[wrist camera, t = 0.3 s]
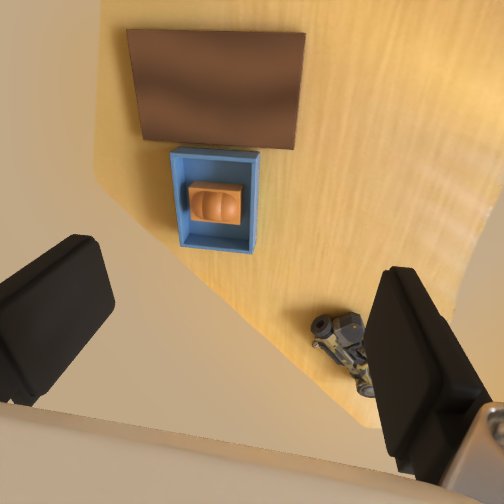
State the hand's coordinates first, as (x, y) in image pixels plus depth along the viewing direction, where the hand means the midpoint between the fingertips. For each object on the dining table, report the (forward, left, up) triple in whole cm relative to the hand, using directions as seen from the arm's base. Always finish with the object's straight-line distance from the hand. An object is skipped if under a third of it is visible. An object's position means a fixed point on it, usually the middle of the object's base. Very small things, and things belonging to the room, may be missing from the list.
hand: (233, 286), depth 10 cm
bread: (+12, -10, -36) cm, 39 cm away
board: (-3, -10, -36) cm, 38 cm away
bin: (+12, -10, -36) cm, 39 cm away
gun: (+42, +20, -36) cm, 59 cm away
